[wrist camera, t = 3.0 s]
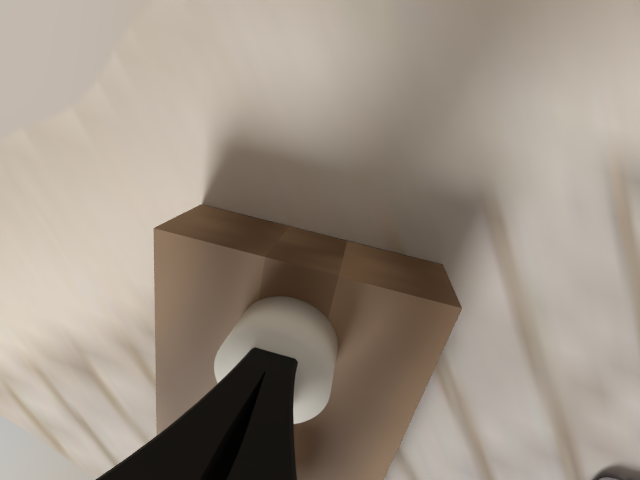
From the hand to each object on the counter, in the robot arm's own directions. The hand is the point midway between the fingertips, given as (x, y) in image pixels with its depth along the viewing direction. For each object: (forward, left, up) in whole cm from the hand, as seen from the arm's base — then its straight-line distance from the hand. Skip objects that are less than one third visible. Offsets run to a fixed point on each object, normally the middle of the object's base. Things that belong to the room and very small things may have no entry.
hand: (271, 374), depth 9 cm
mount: (0, +9, -5) cm, 10 cm away
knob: (0, 0, -4) cm, 4 cm away
